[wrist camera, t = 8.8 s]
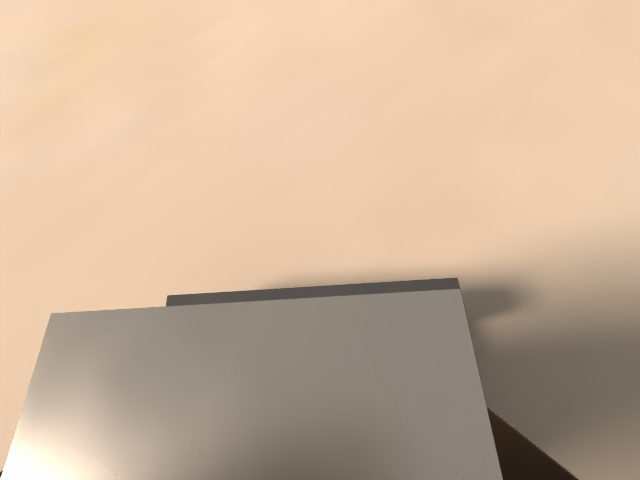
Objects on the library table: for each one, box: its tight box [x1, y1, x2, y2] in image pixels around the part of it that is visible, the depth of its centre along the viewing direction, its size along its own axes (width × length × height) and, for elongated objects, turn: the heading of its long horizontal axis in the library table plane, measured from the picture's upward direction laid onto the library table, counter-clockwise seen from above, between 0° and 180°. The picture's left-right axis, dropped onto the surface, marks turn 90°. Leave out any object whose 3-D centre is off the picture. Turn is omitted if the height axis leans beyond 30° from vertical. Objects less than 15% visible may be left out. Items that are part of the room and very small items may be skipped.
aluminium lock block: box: [1, 289, 503, 480], centre depth 9 cm, size 5×6×10 cm
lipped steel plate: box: [166, 278, 460, 307], centre depth 14 cm, size 12×12×4 cm
